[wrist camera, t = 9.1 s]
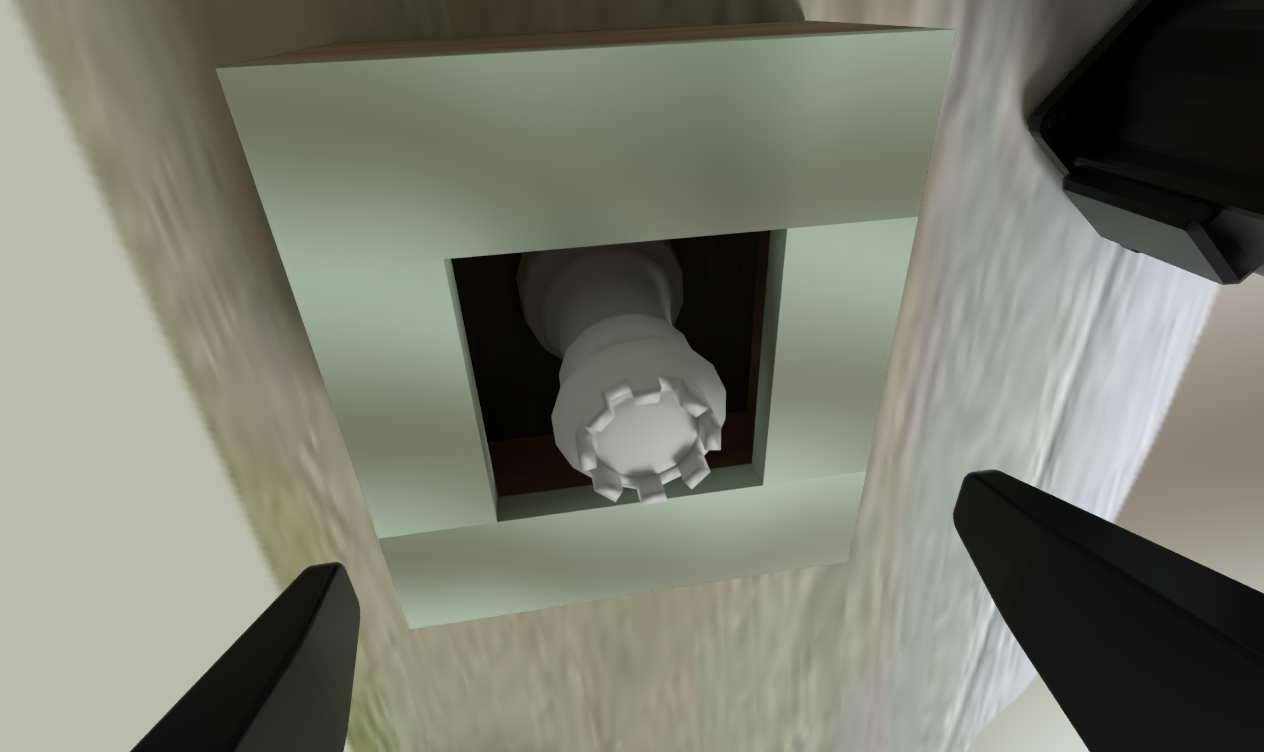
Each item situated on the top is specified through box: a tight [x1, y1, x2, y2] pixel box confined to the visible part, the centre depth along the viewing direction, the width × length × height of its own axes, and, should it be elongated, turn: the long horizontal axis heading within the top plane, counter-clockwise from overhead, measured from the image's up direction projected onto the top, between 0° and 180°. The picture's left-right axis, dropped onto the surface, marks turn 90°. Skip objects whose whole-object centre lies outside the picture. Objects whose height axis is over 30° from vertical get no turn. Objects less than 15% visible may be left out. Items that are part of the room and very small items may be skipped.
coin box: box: [215, 21, 957, 629], centre depth 15 cm, size 12×11×6 cm
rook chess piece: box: [516, 239, 726, 506], centre depth 14 cm, size 4×4×8 cm
